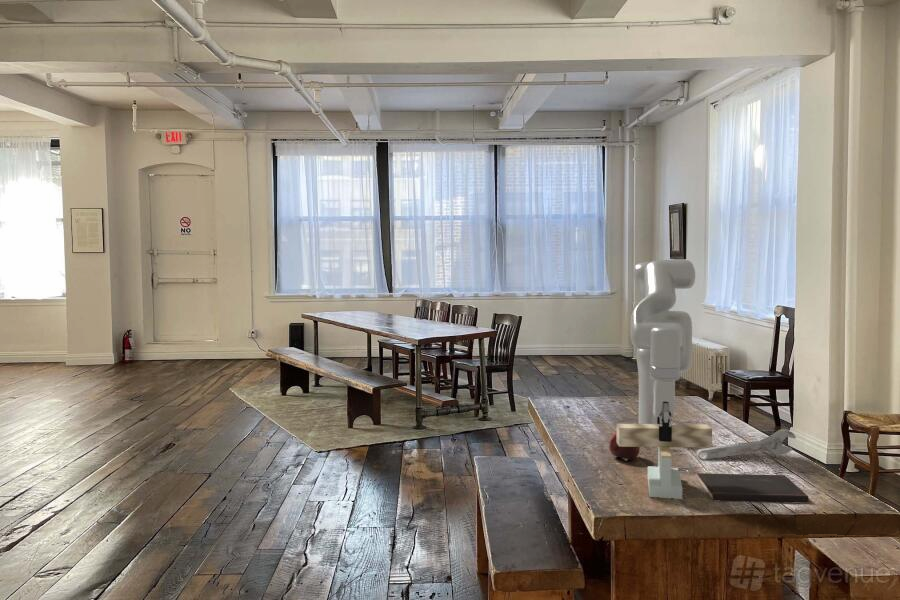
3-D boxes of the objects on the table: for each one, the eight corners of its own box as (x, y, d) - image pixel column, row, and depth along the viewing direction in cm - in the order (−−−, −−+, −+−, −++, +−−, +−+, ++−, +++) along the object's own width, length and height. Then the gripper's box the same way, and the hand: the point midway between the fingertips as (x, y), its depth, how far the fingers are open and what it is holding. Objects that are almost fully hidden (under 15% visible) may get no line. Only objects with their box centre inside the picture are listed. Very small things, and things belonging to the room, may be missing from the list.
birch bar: (706, 442, 188) (707, 424, 188) (711, 447, 184) (712, 428, 183) (616, 441, 190) (616, 423, 189) (619, 446, 185) (619, 428, 185)
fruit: (626, 465, 205) (626, 431, 204) (602, 457, 212) (602, 425, 212) (647, 459, 210) (647, 427, 209) (623, 452, 217) (623, 420, 217)
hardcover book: (697, 481, 192) (697, 473, 191) (784, 483, 189) (784, 475, 189) (712, 502, 176) (712, 494, 175) (808, 505, 173) (808, 496, 173)
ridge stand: (647, 476, 194) (647, 437, 193) (677, 478, 192) (678, 439, 191) (649, 496, 179) (649, 454, 178) (682, 499, 177) (682, 456, 176)
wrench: (697, 467, 211) (794, 453, 212) (699, 469, 209) (797, 455, 210) (694, 441, 210) (792, 427, 211) (697, 443, 208) (795, 429, 209)
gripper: (649, 366, 194) (648, 427, 196) (651, 378, 178) (650, 444, 179) (677, 367, 193) (676, 428, 194) (682, 379, 176) (681, 446, 177)
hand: (664, 436), depth 186 cm, fingers open, 9 cm apart
